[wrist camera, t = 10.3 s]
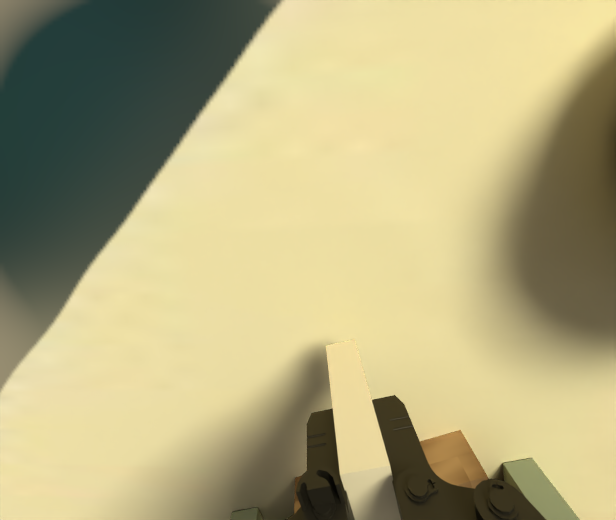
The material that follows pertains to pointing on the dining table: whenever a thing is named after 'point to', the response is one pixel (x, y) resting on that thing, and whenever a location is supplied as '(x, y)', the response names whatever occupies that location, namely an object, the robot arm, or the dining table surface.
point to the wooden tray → (446, 461)
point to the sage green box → (516, 474)
